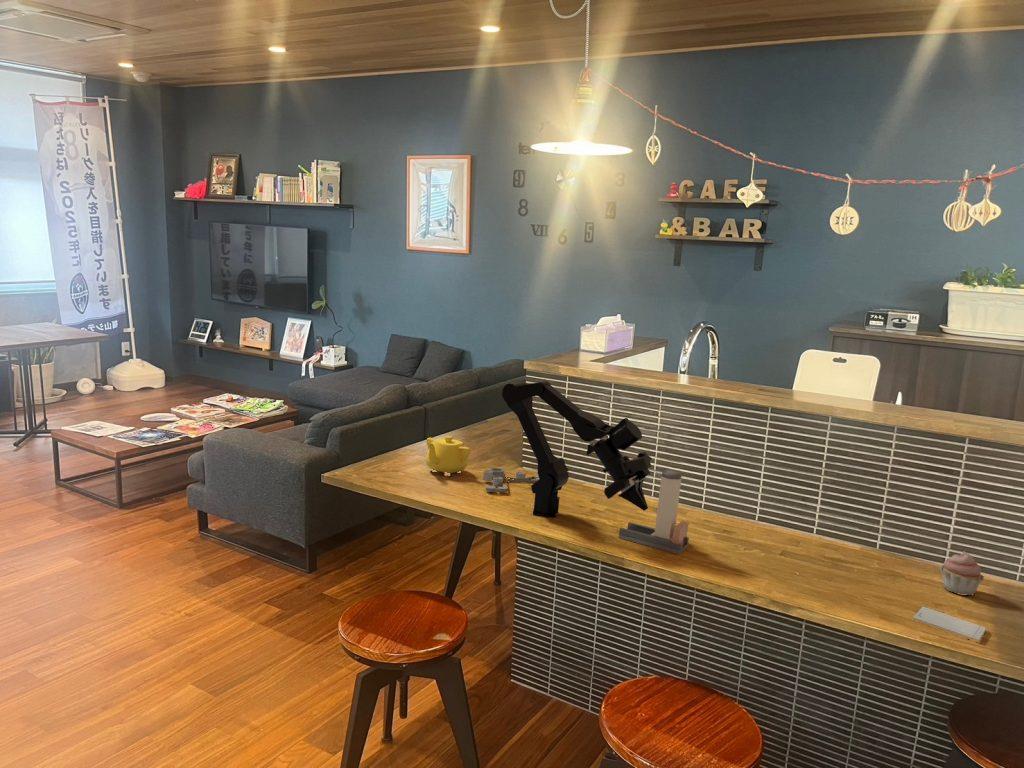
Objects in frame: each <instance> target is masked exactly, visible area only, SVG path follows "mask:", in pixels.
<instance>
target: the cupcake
mask: <svg viewBox="0 0 1024 768" xmlns="http://www.w3.org/2000/svg"><path fill="white" fill-rule="evenodd" d="M940 566H941V567H939V570H940V572H941V575H942V581H943V588H944V587H945V588H946V589H948V590H950V591H952V592H956V593H960V594H967V595H972V594H974V593H975V594H976V592H977V590H978V588H979V586H980V584H981V583H982V582H983V581H984V578H985V576H984V575H982V574H981V572H982V571H981V570H982V569H981V567H980V564H978V563H977V561H976V560H975V558H974V557H973V556H972V555H971V554H969V553H968V552H966V551H965V550H964V551H963V552H962V553H961V554H953V555H952V556H950V557H949V558H947V559H945V561H944V562H943V564H941V565H940ZM945 588H944V589H945ZM946 589H945V590H946ZM952 592H951V593H952ZM975 594H974V595H975Z"/></svg>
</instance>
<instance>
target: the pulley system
mask: <svg viewBox="0 0 1024 768" xmlns="http://www.w3.org/2000/svg"><path fill="white" fill-rule="evenodd" d="M505 472H506V471H505V468H497V467H493V468H489V470H483V471H482V480H483V481H484V482H489V481H490V482H492V480H493V482H492V485H486V486H485V491H486V492H488V493H489V492H492V493H507V492H508V489H509V488H508V485H506V486H504V483H503V482H504V481H503V480H504V478H506V477H507V478H510V479H514V480H510V479H506V483H507V482H508V481H509V482H524V483H523V484H525V482H526V484H534V483H535V482H537V481H538V480H539V476H538V474H537V475H536V474H535V475H533V476H529V477H526V476H527V475H526V472H523V471H517V472H515V477H510V476H506V473H505ZM532 478H533V479H532ZM529 479H530V480H529ZM536 479H537V480H536ZM501 486H502V487H501Z"/></svg>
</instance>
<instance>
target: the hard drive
mask: <svg viewBox="0 0 1024 768" xmlns="http://www.w3.org/2000/svg"><path fill="white" fill-rule="evenodd" d="M913 620H916V621H919V622H922V623H926V624H929V625H932V626H935V627H937V628H940V629H943V630H946V631H950V632H953V633H956V634H959V635H962V636H965V637H969V638H972V639H975V640H978V641H980V639H981V638H982V636H983V634H984V633H985V631H986V629H987V630H988V628H987V627H986V626H985V627H984V626H981V625H979V624H976V623H974V622H970V621H968V620H965V619H961V618H958V617H955V616H952V615H949V614H946V613H943V612H940V611H937V610H935V609H931V608H928V607H925V606H921V608H919V610H918V611H917V612H916V613H915V615H913V618H912V621H913ZM986 632H987V631H986ZM985 634H986V633H985ZM983 637H984V636H983ZM982 639H983V638H982ZM982 639H981V640H982ZM980 642H981V641H980Z"/></svg>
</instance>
